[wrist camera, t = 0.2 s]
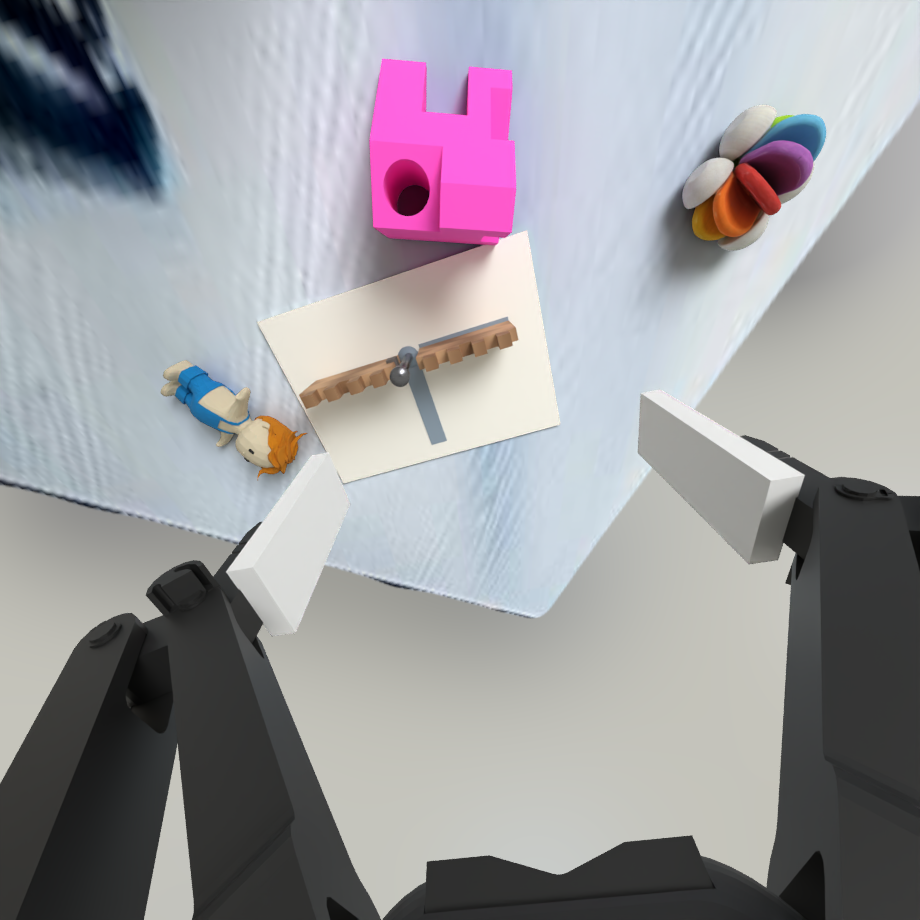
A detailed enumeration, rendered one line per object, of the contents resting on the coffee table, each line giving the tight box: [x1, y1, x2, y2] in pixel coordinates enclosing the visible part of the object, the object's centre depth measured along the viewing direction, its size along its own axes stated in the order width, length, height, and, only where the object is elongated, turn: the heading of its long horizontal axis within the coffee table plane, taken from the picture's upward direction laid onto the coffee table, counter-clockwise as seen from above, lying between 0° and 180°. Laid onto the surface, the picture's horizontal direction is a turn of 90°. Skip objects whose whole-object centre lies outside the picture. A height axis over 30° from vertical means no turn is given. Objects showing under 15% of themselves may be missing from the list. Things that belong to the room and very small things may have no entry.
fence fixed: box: [416, 320, 518, 372], centre depth 36 cm, size 10×1×7 cm, turn 107°
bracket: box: [369, 59, 516, 245], centre depth 27 cm, size 12×10×10 cm
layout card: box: [257, 231, 560, 483], centre depth 41 cm, size 21×29×1 cm
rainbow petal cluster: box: [682, 105, 826, 251], centre depth 30 cm, size 8×10×7 cm
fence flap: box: [299, 355, 401, 409], centre depth 37 cm, size 10×2×7 cm, turn 107°
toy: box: [161, 360, 308, 481], centre depth 41 cm, size 12×6×15 cm
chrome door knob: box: [390, 353, 413, 387], centre depth 36 cm, size 2×2×8 cm
